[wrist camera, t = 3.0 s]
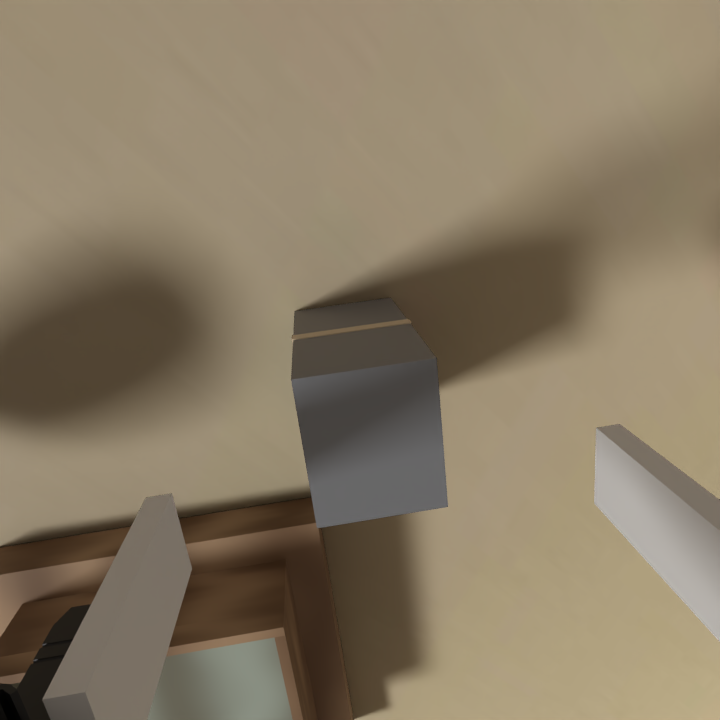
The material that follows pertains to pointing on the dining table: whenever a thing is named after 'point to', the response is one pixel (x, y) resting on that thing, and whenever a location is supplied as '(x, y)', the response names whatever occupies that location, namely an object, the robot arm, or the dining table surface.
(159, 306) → the dining table surface
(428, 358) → the grey banded box
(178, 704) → the pedestal
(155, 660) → the robot arm
